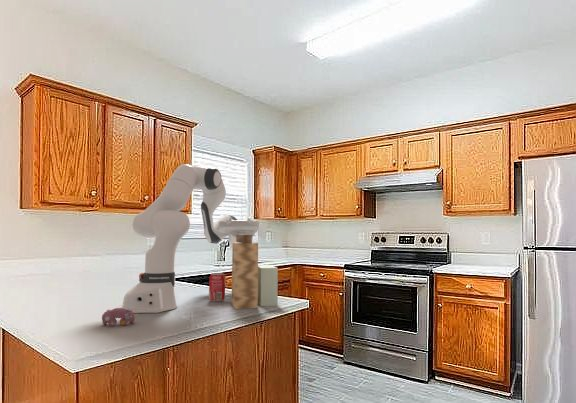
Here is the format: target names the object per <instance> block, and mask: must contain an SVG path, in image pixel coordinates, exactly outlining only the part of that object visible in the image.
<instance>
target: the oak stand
mask: <svg viewBox="0 0 576 403" xmlns="http://www.w3.org/2000/svg"><path fill="white" fill-rule="evenodd" d="M231 248H232V254H231V255H232V256H231V257H232V259H231V265H232V266H231V305H232V307H233V308H234V309H235V310H238V309H239V310H240V309H241V310H242V309H257V308H258V306H259V304H258V265H259V242H253V241H252V243H240V242H233V246H232V247H231Z"/></svg>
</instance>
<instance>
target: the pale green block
mask: <svg viewBox="0 0 576 403" xmlns="http://www.w3.org/2000/svg"><path fill="white" fill-rule="evenodd" d="M278 269H279V268H278V267H277V266H274V265H271V264H258V306H260V307H274V306H276V307H277V306H278V299H279V298H278V295H279V294H278V293H279V292H278V291H279V289H278V284H279V281H278V280H279V279H278V276H279V274H278V272H279V270H278Z"/></svg>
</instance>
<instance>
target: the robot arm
mask: <svg viewBox="0 0 576 403" xmlns="http://www.w3.org/2000/svg"><path fill="white" fill-rule="evenodd" d="M194 190H197V191H199V190H200V191H202V195H203V196H202V200H201V201H202V202H201V203H200V209H201V216H202V221H203V229H204V230H203V231H204V237H205V239H206V240H207V242H208V243H210V244H214V245H215V244H216V245H217V244H218V243H220V242H221V241H222V240H223V239H225V238H226V237H228V243H229V245H230V247H231V248H232V246H233V242H236V234H245V235H252V237H255V235H256V233H257V232H258V230H259V227H260V223H259V220H258V219H251V217H247V219H246V220H244V219H243V220H241V219H239V220H238V219H237V218H236V217H235V216H233V215H232V214H231V215H230V214H225V215H223V216H222V217H221V218H219V219H218V220H216V221H215V222H214V217H213V215H214V212H215V211H216V210H217V208H218V207H220V205H221V204H222V203H223V201H224V200H225V198H226V196H227V195H226V194H227V192H226V186H225V184H224V182H223V179H222V175H221V172H220V171H219V169H218V168H216V167H212V166H202V165H190V164H186V163H184V164H181V165H178V166H177V168H176V169H175V170H174V171H173V173H172V174H171V176H170V177H169V179H168V181H167V182H166V184H165V186H164V188H163V190H162V191H161V193H160V194H159V195H158V197H157V198H156V199H155V200H154V201H153V202H152V203H151V204H150V205H149V206H147V207H146V208H145V209H144V210H143V211H140V212H139V213H137V214H136V215H135V216H134V218H133V221H132V228H133V230H134V232H135V234H137V235H139V236H141V237H145V238H155V241H154V244H153V245H152V247H151V248H149V249H148V250H146V254H145V261H144V262H145V263H144V272H140V273H139V275H138V277H139V279H138V281H139V282H138V283H137V284H135V285H134V286H133V287H132V288H131V289H129V290H128V291H127V292H126V293H125V294H124V297H123V299H122V304H121V305H118V306H117V307H116V308H123V309H126V310H127V309H130V310H131V311H132V312H133V313H134V314H143V313H144V314H145V313H147V314H151V313H154V314H155V313H162V312H165V311H172V310H175V309H177V308H178V305H177V301H176V294H175V284H176V272H175V258H176V256H175V255H176V250H177V248H178V245H179V242H180V241H181V239H182V238H183V237H184V236H185V235H186V234H187V233H188V232H189V230H190V225H191V222H190V218H189V216H188V215H187V213H185V212H184V211H181V210H183V209H184V208H185V207H186V205H187V204H188V202H189V199H190V197H191V195H192V193H193V191H194Z"/></svg>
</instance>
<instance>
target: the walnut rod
mask: <svg viewBox="0 0 576 403" xmlns="http://www.w3.org/2000/svg"><path fill="white" fill-rule="evenodd" d="M236 242H240V243H252V242H253V236H252V235H245V234H236Z"/></svg>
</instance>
